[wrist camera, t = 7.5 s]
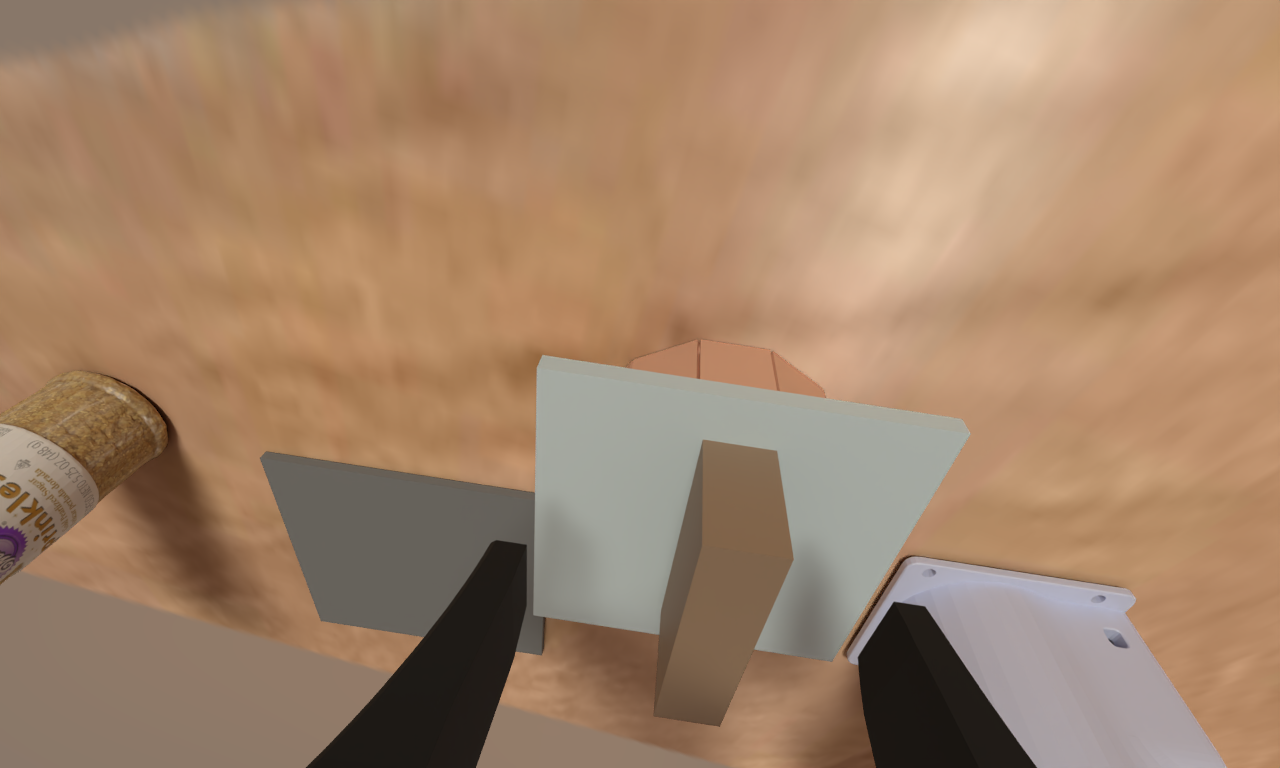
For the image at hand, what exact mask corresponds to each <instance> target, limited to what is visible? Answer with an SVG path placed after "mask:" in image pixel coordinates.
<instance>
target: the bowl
mask: <svg viewBox="0 0 1280 768" xmlns="http://www.w3.org/2000/svg"><path fill="white" fill-rule="evenodd" d="M625 368H630V369H637V370H643V371H650V372H656V373H663V374H670V375H676V376H683V377H689V378H696V379H702V380H709V381H716V382H722V383H729V384H735V385H742V386H748V387H755V388H762V389H768V390H775V391H781V392H788V393H794V394H801V395H808V396H814V397H821V398H826V396H825V393H824V390H823V389H822V388H821V387H820V386H819V385H817V384H816V383H815V382H813V381H812V380H811V379H809V378H808V377H807V376H805V375H804V374H803V373H801V372H800V371H799V370H797V369H796V368H795V367H793V366H792V365H791V364H789V363H788V362H787V361H785V360H784V359H783V358H781V357H780V356H779V355H777V354H776V353H775V352H773V351H772V352H771V353H770V350H768V349H761V348H755V347H748V346H742V345H735V344H728V343H722V342H715V341H709V340H702V339H701V340H700V343H699V342H698V340H694V341H691V342H688V343H685V344H682V345H678V346H675V347H672V348H669V349H666V350H662V351H659V352H656V353H653V354H650V355H646V356H643V357H640V358H637V359H634V361H633V362H632V361H631V362H630V363H629V364H628V365H627V366H626V367H625Z"/></svg>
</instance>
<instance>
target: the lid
mask: <svg viewBox="0 0 1280 768" xmlns="http://www.w3.org/2000/svg"><path fill="white" fill-rule="evenodd" d="M969 436H970V432H969V430H968V429H967V427H966V425H965V423H964V422H963V420H962V419H959V418H952V417H946V416H939V415H932V414H926V413H919V412H913V411H906V410H900V409H893V408H886V407H880V406H873V405H867V404H860V403H854V402H847V401H840V400H834V399H827V398H821V397H814V396H808V395H801V394H794V393H788V392H781V391H775V390H768V389H762V388H755V387H748V386H742V385H735V384H729V383H722V382H716V381H709V380H702V379H696V378H689V377H683V376H676V375H670V374H663V373H656V372H650V371H643V370H637V369H630V368H624V367H617V366H610V365H604V364H597V363H591V362H584V361H578V360H571V359H565V358H558V357H551V356H545V355H542V358H541V360H540V362H539V364H538V367H537V399H536V467H535V534H534V602H533V615H535V616H541V617H548V618H554V619H561V620H567V621H573V622H580V623H586V624H593V625H599V626H606V627H612V628H618V629H625V630H631V631H638V632H644V633H651V634H657V635H659V645H658V660H657V674H656V688H655V702H654V716H655V717H662V718H668V719H674V720H681V721H687V722H694V723H700V724H706V725H713V726H719V727H720V725H721V723H722V720H723V718H724V716H725V714H726V711H727V709H728V707H729V705H730V702H731V700H732V698H733V696H734V693H735V691H736V689H737V687H738V684H739V682H740V680H741V678H742V675H743V673H744V671H745V669H746V666H747V664H748V662H749V659H750V657H751V655H752V653H753V650H760V651H766V652H773V653H779V654H785V655H792V656H798V657H805V658H811V659H818V660H824V661H830V662H832V661H833V659H834V658H835V656H836V654H837V653H838V651H839V649H840V648H841V646H842V644H843V643H844V641H845V640H846V638H847V636H848V635H849V633H850V631H851V630H852V628H853V626H854V625H855V623H856V621H857V620H858V618H859V617H860V615H861V613H862V612H863V610H864V608H865V607H866V605H867V603H868V602H869V600H870V599H871V597H872V595H873V594H874V592H875V590H876V589H877V587H878V585H879V584H880V582H881V580H882V579H883V577H884V576H885V574H886V572H887V571H888V569H889V567H890V566H891V564H892V562H893V561H894V559H895V557H896V556H897V554H898V553H899V551H900V549H901V548H902V546H903V544H904V543H905V541H906V539H907V538H908V536H909V534H910V533H911V531H912V530H913V528H914V526H915V525H916V523H917V521H918V520H919V518H920V516H921V515H922V513H923V511H924V510H925V508H926V507H927V505H928V503H929V502H930V500H931V498H932V497H933V495H934V493H935V492H936V490H937V488H938V487H939V485H940V484H941V482H942V480H943V479H944V477H945V475H946V474H947V472H948V470H949V469H950V467H951V465H952V464H953V462H954V461H955V459H956V457H957V456H958V454H959V452H960V451H961V449H962V447H963V446H964V444H965V442H966V441H967V439H968V438H969Z"/></svg>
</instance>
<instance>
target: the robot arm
mask: <svg viewBox="0 0 1280 768" xmlns="http://www.w3.org/2000/svg"><path fill="white" fill-rule="evenodd" d="M1135 602H1136V598H1135V596H1134V595H1133V594H1132V592H1131V591H1130V590H1128V589H1125V588H1120V587H1113V586H1107V585H1100V584H1094V583H1087V582H1081V581H1074V580H1068V579H1061V578H1055V577H1048V576H1042V575H1035V574H1029V573H1022V572H1016V571H1009V570H1003V569H996V568H990V567H983V566H977V565H970V564H964V563H957V562H951V561H944V560H938V559H931V558H925V557H917V556H914V557H909V558H907V559H906V560H905V561H904V562H903V563H902V564H901V566H900V568H899V569H898V571H897V572H896V574H895V576H894V577H893V579H892V580H891V582H890V584H889V585H888V587H887V588H886V590H885V592H884V593H883V595H882V596H881V598H880V600H879V601H878V603H877V604H876V606H875V608H874V609H873V611H872V612H871V614H870V616H869V617H868V619H867V620H866V622H865V624H864V625H863V627H862V628H861V630H860V631H859V633H858V635H857V636H856V638H855V639H854V641H853V643H852V644H851V646H850V647H849V649H848V651H847V658H848V661H849V662H850V663H852V664H855V665H858V666H859V676H860V686H861V694H862V702H863V710H864V716H865V721H866V725H867V730H868V734H869V738H870V743H871V747H872V752H873V756H874V760H875V765H876V768H1227V767H1226V765H1225V763H1224V762H1223V760H1222V758H1221V757H1220V755H1219V753H1218V752H1217V750H1216V749H1215V747H1214V746H1213V744H1212V743H1211V741H1210V740H1209V738H1208V737H1207V735H1206V734H1205V732H1204V731H1203V729H1202V728H1201V726H1200V725H1199V723H1198V722H1197V720H1196V719H1195V717H1194V716H1193V714H1192V713H1191V711H1190V710H1189V708H1188V707H1187V705H1186V704H1185V702H1184V701H1183V699H1182V698H1181V696H1180V695H1179V693H1178V692H1177V690H1176V689H1175V687H1174V686H1173V684H1172V683H1171V681H1170V680H1169V678H1168V677H1167V675H1166V674H1165V672H1164V671H1163V669H1162V668H1161V666H1160V665H1159V663H1158V662H1157V660H1156V659H1155V657H1154V656H1153V654H1152V653H1151V651H1150V650H1149V648H1148V647H1147V645H1146V644H1145V642H1144V641H1143V639H1142V638H1141V636H1140V635H1139V633H1138V632H1137V630H1136V629H1135V627H1134V626H1133V624H1132V623H1131V621H1130V620H1129V618H1128V617H1127V615H1126V614H1125V612H1126V611H1127V610H1128V609H1129V608H1131V607H1132V606H1133V605H1134V603H1135ZM526 607H527V545H525V544H519V543H513V542H506V541H500V540H495V541H493V542H491V543H490V545H489V546H488V548H487V550H486V551H485V553H484V555H483V556H482V558H481V559H480V561H479V563H478V564H477V566H476V567H475V569H474V570H473V572H472V573H471V575H470V576H469V578H468V579H467V581H466V582H465V583H464V585H463V586H462V588H461V589H460V590H459V592H458V593H457V595H456V596H455V597H454V599H453V600H452V602H451V603H450V604H449V606H448V607H447V608H446V610H445V611H444V612H443V614H442V615H441V616H440V617H439V619H438V620H437V621H436V623H435V624H434V625H433V626H432V628H431V629H430V630H429V632H428V633H427V634H426V636H425V637H424V638H423V639H422V641H421V642H420V643H419V644H418V646H417V647H416V648H415V649H414V651H413V652H412V653H411V654H410V655H409V656H408V658H407V659H406V660H405V661H404V662H403V664H402V665H401V666H400V667H399V668H398V669H397V671H396V672H395V673H394V674H393V675H392V676H391V678H390V679H389V680H388V681H387V682H386V683H385V685H384V686H383V687H382V688H381V689H380V690H379V692H378V693H377V694H376V695H375V696H374V697H373V699H372V700H371V701H370V702H369V703H368V704H367V705H366V706H365V707H364V708H363V709H362V710H361V711H360V713H359V714H358V715H357V716H356V717H355V718H354V719H353V720H352V721H351V722H350V723H349V724H348V726H346V727H345V729H344V730H343V731H342V732H341V733H340V734H339V735H338V736H337V737H336V738H335V739H334V740H333V741H332V742H331V743H330V744H329V745H328V746H327V747H326V748H325V749H324V750H323V751H322V752H321V753H320V754H319V755H318V756H317V757H316V758H315V759H314V760H313V761H312V762H311V763H310V764H309V765H308V766H307V767H306V768H476V766H477V762H478V760H479V757H480V754H481V751H482V748H483V746H484V743H485V740H486V737H487V734H488V731H489V728H490V725H491V723H492V720H493V717H494V714H495V711H496V708H497V706H498V703H499V700H500V697H501V694H502V691H503V688H504V686H505V683H506V680H507V677H508V674H509V671H510V668H511V665H512V662H513V659H514V656H515V652H516V648H517V644H518V640H519V636H520V632H521V627H522V623H523V619H524V615H525V611H526Z"/></svg>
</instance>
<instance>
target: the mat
mask: <svg viewBox="0 0 1280 768" xmlns="http://www.w3.org/2000/svg"><path fill="white" fill-rule="evenodd" d="M260 460H261V462H262V465H263V468H264V470H265V473H266V476H267V478H268V481H269V484H270V486H271V489H272V492H273V494H274V497H275V500H276V502H277V505H278V508H279V510H280V513H281V516H282V518H283V521H284V524H285V526H286V529H287V532H288V534H289V537H290V540H291V542H292V545H293V548H294V550H295V553H296V556H297V558H298V561H299V564H300V566H301V569H302V572H303V574H304V577H305V580H306V582H307V585H308V588H309V590H310V593H311V596H312V598H313V601H314V604H315V606H316V609H317V612H318V614H319V617H320V620H321V621H325V622H331V623H338V624H344V625H350V626H357V627H363V628H370V629H376V630H382V631H389V632H395V633H402V634H408V635H414V636H421V637H425V636H426V634H427V633H428V632H429V630H430V629H431V628H432V626H433V625H434V624H435V623H436V621H437V620H438V619H439V617H440V616H441V615H442V614H443V612H444V611H445V610H446V608H447V607H448V606H449V604H450V603H451V602H452V600H453V599H454V597H455V596H456V595H457V593H458V592H459V590H460V589H461V588H462V586H463V585H464V583H465V582H466V581H467V579H468V578H469V576H470V575H471V573H472V572H473V570H474V569H475V567H476V566H477V564H478V563H479V561H480V559H481V558H482V556H483V555H484V553H485V551H486V550H487V548H488V546H489V545H490V543H491V542H493V541H495V540H500V541H506V542H513V543H519V544H525V545H527V607H526V611H525V615H524V619H523V623H522V627H521V632H520V636H519V640H518V644H517V648H516V651H517V652H523V653H530V654H536V655H542V653H543V648H544V621H545V617H541V616H535V615H533V602H534V534H535V493H532V492H525V491H519V490H512V489H506V488H499V487H493V486H486V485H480V484H473V483H467V482H460V481H454V480H447V479H441V478H434V477H428V476H421V475H415V474H408V473H402V472H395V471H389V470H382V469H376V468H369V467H363V466H356V465H350V464H343V463H337V462H330V461H324V460H317V459H311V458H304V457H298V456H291V455H285V454H278V453H272V452H265V453H264V454H263V455H262V456H261V457H260Z"/></svg>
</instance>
